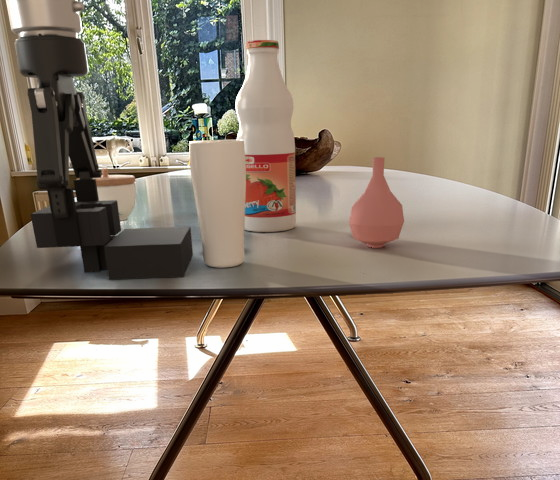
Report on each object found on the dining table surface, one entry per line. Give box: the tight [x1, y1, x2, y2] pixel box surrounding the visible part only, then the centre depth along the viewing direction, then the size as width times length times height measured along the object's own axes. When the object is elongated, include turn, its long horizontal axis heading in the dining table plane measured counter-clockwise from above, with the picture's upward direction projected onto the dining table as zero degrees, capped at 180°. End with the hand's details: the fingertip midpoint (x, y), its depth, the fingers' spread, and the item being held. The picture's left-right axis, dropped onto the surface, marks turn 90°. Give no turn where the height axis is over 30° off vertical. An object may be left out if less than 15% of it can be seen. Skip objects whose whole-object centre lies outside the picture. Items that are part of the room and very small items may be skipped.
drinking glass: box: [188, 139, 246, 269], centre depth 75 cm, size 7×7×15 cm
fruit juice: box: [235, 39, 297, 233], centre depth 96 cm, size 9×9×28 cm
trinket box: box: [76, 167, 137, 222], centre depth 113 cm, size 11×11×9 cm
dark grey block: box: [30, 200, 122, 249], centre depth 75 cm, size 8×10×4 cm
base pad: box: [79, 226, 194, 281], centre depth 77 cm, size 13×12×4 cm
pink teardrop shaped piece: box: [348, 156, 405, 249], centre depth 83 cm, size 8×8×12 cm
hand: (81, 237), depth 76 cm, fingers closed on dark grey block, 10 cm apart
